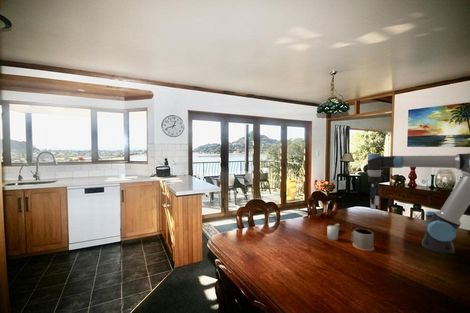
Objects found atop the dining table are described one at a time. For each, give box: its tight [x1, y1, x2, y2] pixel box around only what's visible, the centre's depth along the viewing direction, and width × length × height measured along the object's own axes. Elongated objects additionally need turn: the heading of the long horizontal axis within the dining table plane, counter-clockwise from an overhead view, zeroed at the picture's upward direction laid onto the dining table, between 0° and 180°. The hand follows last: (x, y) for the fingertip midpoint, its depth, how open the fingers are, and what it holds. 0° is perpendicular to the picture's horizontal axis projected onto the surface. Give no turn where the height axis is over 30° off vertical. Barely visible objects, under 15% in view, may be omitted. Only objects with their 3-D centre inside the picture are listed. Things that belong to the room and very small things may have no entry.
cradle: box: [332, 222, 354, 242], centre depth 156 cm, size 16×14×5 cm
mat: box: [352, 242, 375, 252], centre depth 137 cm, size 12×12×1 cm
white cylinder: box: [326, 225, 339, 241], centre depth 150 cm, size 7×7×8 cm
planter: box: [353, 227, 374, 249], centre depth 137 cm, size 11×11×10 cm
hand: (374, 207), depth 145 cm, fingers open, 13 cm apart
